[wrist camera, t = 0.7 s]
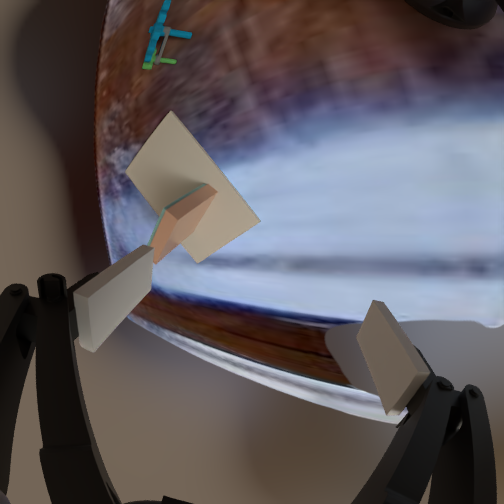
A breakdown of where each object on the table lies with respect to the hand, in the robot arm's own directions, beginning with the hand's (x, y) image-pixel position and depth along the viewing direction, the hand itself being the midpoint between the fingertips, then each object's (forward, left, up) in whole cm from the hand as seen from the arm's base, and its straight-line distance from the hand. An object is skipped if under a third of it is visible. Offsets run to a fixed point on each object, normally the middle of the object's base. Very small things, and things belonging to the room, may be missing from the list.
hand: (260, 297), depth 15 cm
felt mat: (+18, -11, -22) cm, 30 cm away
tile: (+17, -7, -22) cm, 29 cm away
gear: (+2, -30, -23) cm, 38 cm away
